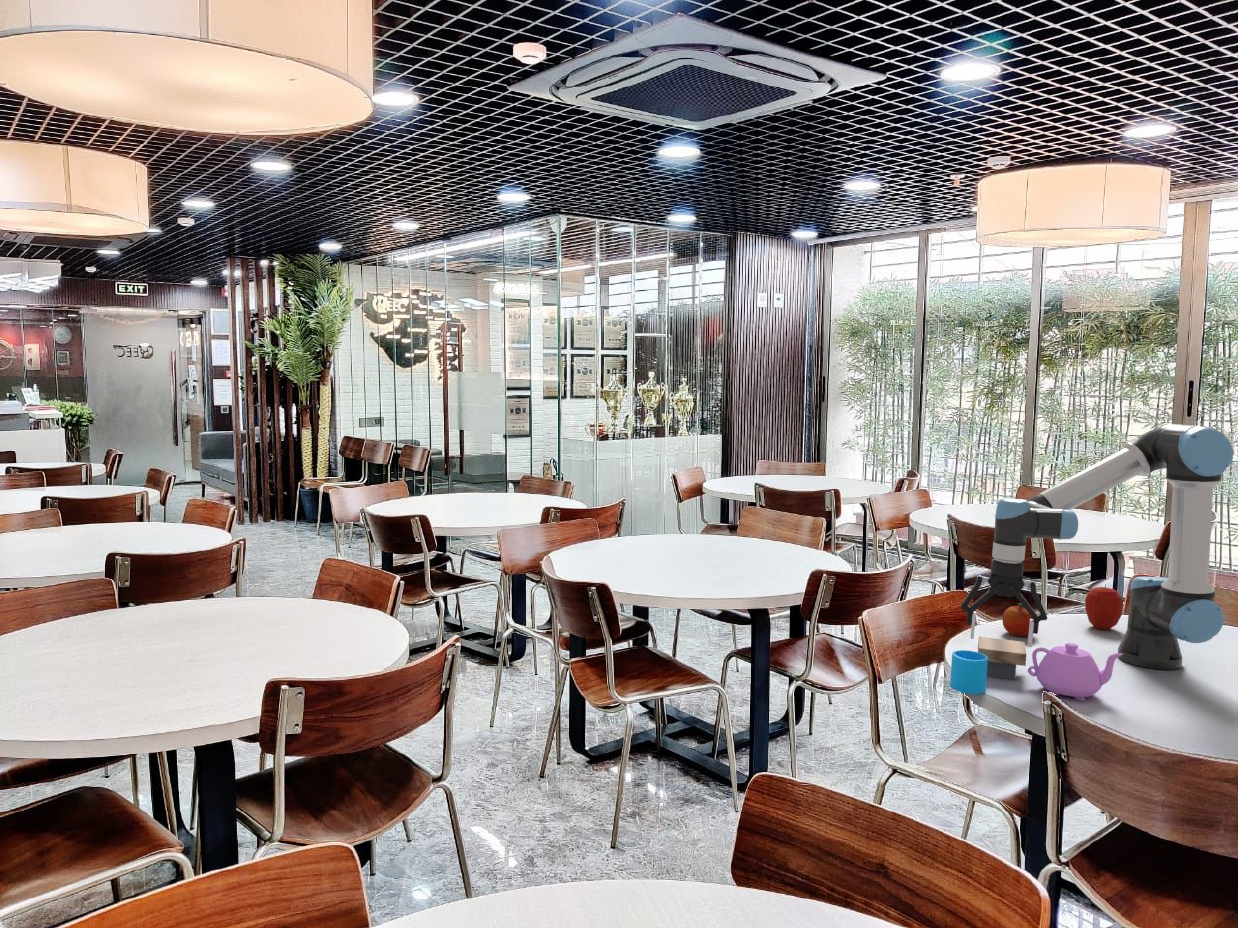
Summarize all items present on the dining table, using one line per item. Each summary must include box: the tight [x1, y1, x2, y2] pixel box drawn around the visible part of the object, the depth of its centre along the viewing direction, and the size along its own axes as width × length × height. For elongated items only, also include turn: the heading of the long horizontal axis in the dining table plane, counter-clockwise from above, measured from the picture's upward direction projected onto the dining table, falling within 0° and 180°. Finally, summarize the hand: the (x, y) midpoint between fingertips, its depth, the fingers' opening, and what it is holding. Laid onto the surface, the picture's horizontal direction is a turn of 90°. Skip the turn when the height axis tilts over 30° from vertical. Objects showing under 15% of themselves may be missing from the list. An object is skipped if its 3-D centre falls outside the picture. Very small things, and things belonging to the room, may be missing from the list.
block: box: [977, 636, 1027, 667], centre depth 231 cm, size 11×11×3 cm
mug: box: [949, 649, 988, 695], centre depth 222 cm, size 12×8×8 cm
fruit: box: [1001, 602, 1033, 638], centre depth 266 cm, size 10×10×10 cm
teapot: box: [1027, 642, 1123, 702], centre depth 217 cm, size 20×14×12 cm
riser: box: [987, 661, 1017, 681], centre depth 231 cm, size 7×7×4 cm
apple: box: [1084, 583, 1124, 631], centre depth 274 cm, size 10×10×14 cm
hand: (1000, 641), depth 230 cm, fingers open, 13 cm apart
